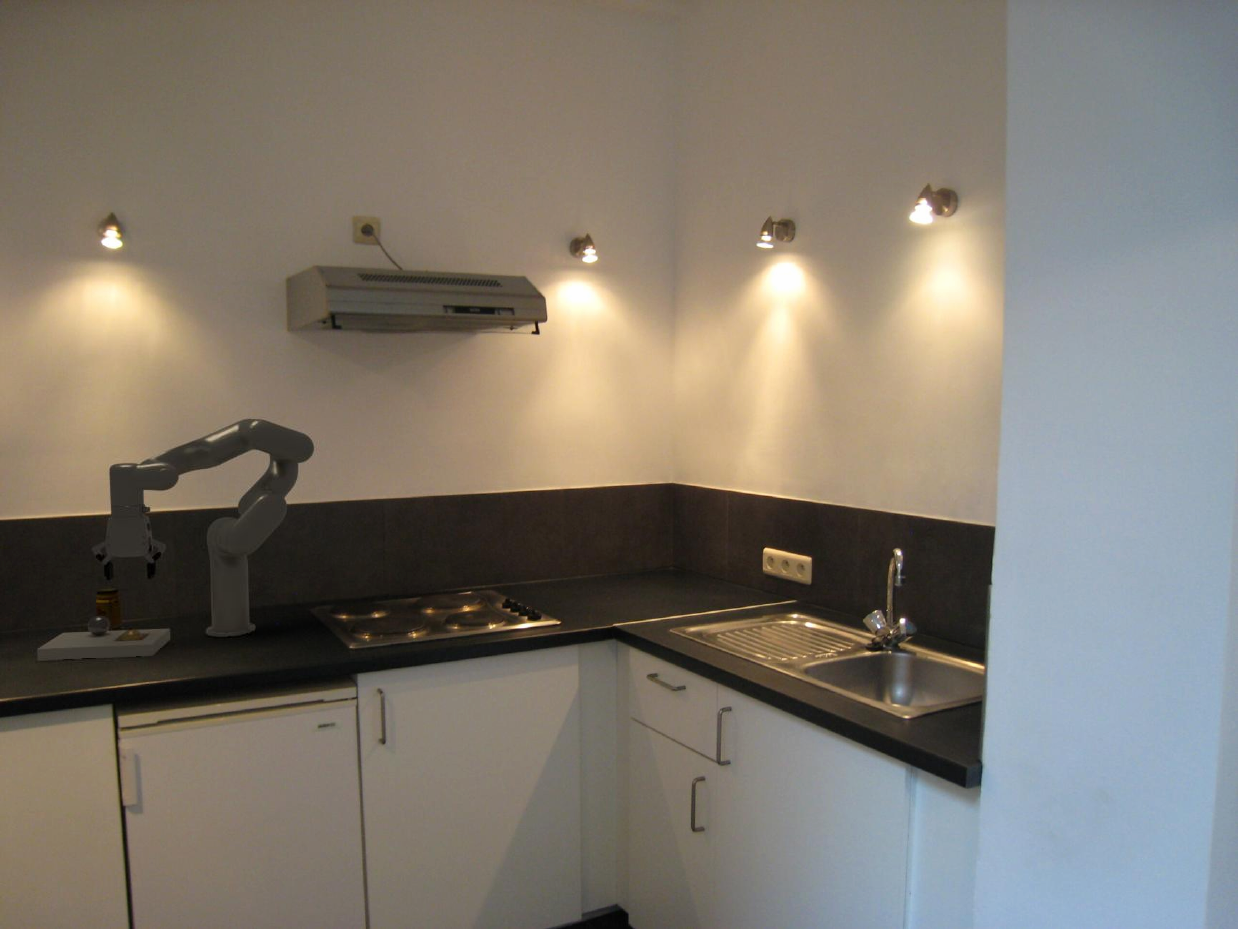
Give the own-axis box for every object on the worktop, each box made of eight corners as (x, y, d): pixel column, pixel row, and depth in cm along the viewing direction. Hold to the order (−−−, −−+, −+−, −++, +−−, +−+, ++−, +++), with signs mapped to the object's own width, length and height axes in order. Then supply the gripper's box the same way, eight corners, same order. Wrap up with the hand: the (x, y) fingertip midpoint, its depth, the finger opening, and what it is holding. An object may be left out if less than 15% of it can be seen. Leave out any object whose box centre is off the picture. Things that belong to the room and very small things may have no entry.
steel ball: (92, 633, 244) (91, 614, 244) (113, 632, 245) (112, 613, 245) (85, 637, 239) (84, 618, 239) (106, 637, 240) (105, 617, 240)
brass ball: (125, 647, 242) (123, 628, 242) (146, 645, 243) (144, 626, 243) (118, 652, 237) (117, 633, 237) (139, 650, 238) (138, 631, 238)
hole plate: (63, 644, 244) (63, 632, 244) (170, 639, 249) (169, 628, 249) (37, 661, 229) (37, 649, 228) (152, 656, 234) (151, 644, 233)
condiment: (89, 634, 255) (87, 590, 254) (114, 627, 263) (113, 585, 262) (110, 636, 253) (108, 592, 252) (135, 629, 261) (133, 586, 260)
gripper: (168, 509, 243) (170, 574, 244) (96, 511, 240) (98, 577, 241) (160, 513, 236) (162, 580, 237) (85, 514, 232) (88, 582, 234)
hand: (130, 578), depth 239 cm, fingers open, 9 cm apart
